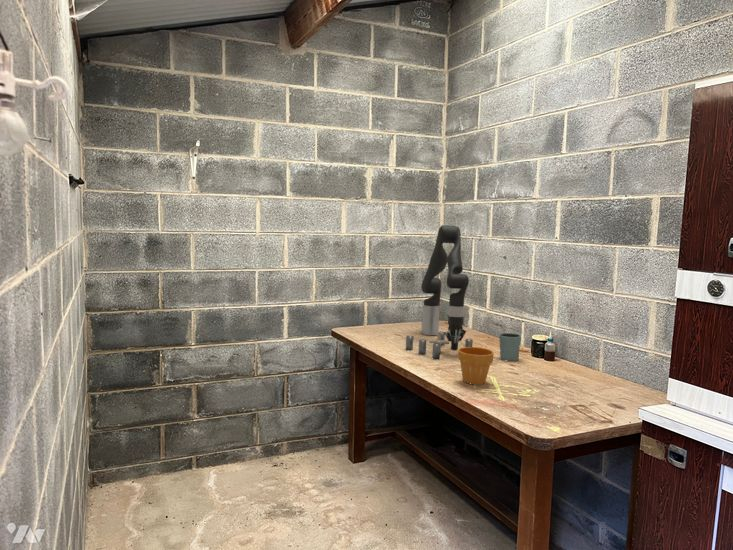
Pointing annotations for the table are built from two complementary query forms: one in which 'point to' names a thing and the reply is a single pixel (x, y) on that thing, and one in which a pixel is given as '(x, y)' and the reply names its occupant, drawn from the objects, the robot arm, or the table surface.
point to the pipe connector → (439, 340)
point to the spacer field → (435, 346)
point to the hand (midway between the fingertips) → (454, 349)
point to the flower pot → (475, 364)
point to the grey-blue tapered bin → (509, 346)
